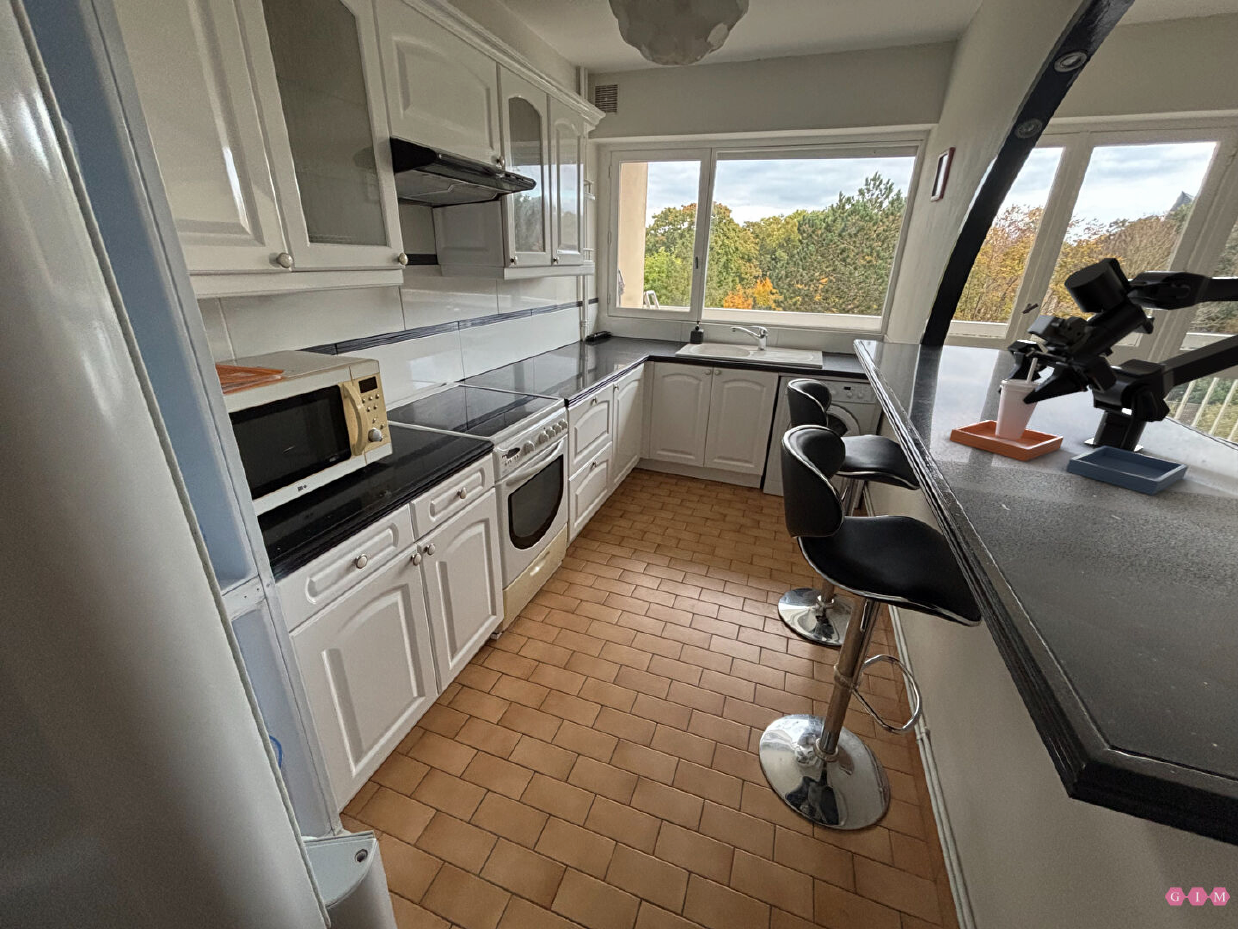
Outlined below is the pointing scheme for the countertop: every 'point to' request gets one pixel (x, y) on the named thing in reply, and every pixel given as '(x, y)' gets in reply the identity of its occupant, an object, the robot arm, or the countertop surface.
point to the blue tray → (1127, 469)
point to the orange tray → (1006, 441)
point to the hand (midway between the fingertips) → (1011, 397)
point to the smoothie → (1015, 406)
